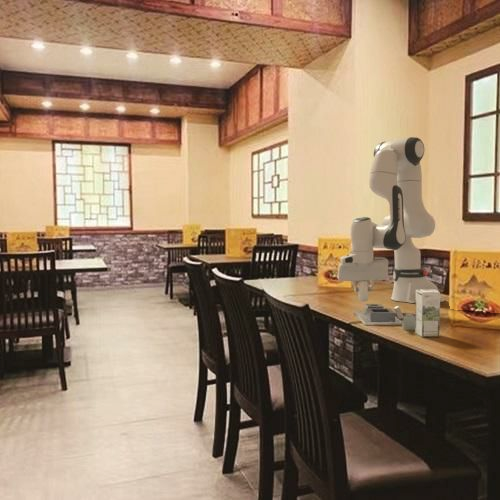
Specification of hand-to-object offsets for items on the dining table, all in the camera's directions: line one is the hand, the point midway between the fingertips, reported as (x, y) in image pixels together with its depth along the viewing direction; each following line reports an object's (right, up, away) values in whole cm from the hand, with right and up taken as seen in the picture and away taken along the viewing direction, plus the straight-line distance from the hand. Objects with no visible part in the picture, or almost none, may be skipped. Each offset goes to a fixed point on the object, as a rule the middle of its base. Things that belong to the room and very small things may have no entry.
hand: (363, 291), depth 200 cm
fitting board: (+1, -9, -18) cm, 20 cm away
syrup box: (+10, -10, -44) cm, 47 cm away
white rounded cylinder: (0, -4, 0) cm, 4 cm away
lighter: (+6, -10, -36) cm, 38 cm away
